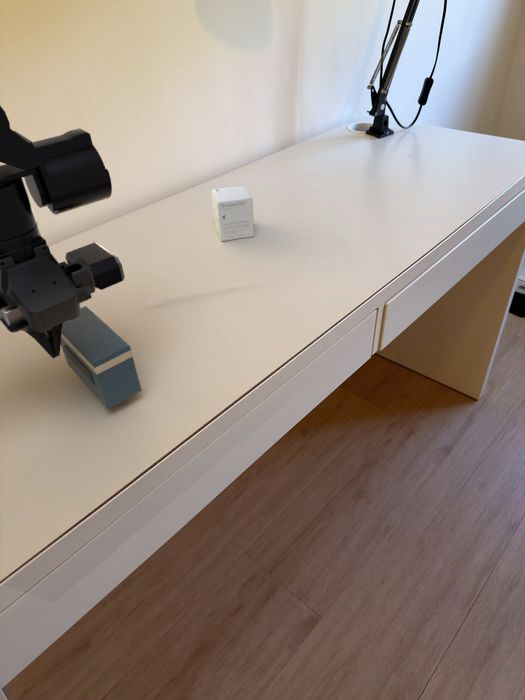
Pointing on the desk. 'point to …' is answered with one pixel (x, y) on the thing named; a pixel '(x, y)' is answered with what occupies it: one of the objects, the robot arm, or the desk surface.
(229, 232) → the product box
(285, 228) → the desk surface
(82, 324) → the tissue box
